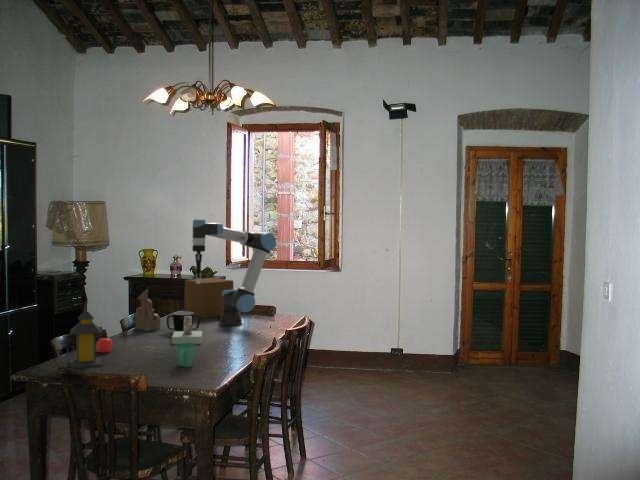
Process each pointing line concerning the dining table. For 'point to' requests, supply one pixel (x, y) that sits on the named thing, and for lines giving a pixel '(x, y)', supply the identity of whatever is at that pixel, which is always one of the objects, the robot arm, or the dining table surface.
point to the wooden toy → (141, 314)
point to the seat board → (187, 337)
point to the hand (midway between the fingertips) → (198, 283)
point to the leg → (187, 325)
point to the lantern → (85, 342)
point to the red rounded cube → (104, 345)
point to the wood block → (206, 296)
